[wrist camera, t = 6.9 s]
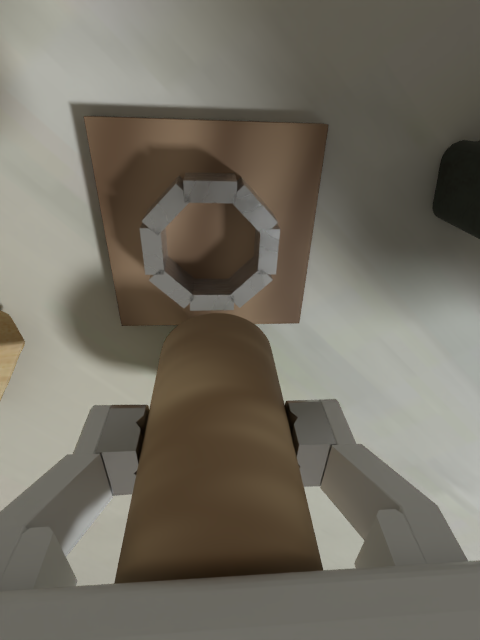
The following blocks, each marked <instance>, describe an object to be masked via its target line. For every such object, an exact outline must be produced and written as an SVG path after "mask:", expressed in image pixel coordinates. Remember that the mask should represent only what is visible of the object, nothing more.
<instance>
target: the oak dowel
mask: <svg viewBox="0 0 480 640" xmlns="http://www.w3.org/2000/svg"><path fill="white" fill-rule="evenodd" d="M322 570H323V567H322V563H321V559H320V554H319V550H318V546H317V542H316V537H315V533H314V529H313V525H312V520H311V516H310V512H309V508H308V503H307V499H306V495H305V491H304V486H303V482H302V478H301V473H300V469H299V465H298V461H297V456H296V452H295V448H294V444H293V439H292V435H291V431H290V427H289V422H288V418H287V414H286V410H285V405H284V401H283V397H282V393H281V388H280V384H279V380H278V376H277V371H276V367H275V363H274V359H273V354H272V350H271V346H270V343H269V341H268V339H267V337H266V336H265V334H264V333H263V332H262V331H261V330H260V329H259V328H258V327H257V326H256V325H255V324H253V323H252V322H250V321H248V320H247V319H244V318H242V317H239V316H236V315H232V314H226V313H208V314H203V315H199V316H195V317H193V318H190V319H188V320H186V321H184V322H182V323H181V324H179V325H178V326H177V327H175V328H174V329H173V330H172V331H171V332H170V334H169V335H168V336H167V338H166V340H165V342H164V344H163V347H162V350H161V355H160V360H159V365H158V370H157V375H156V380H155V385H154V390H153V394H152V399H151V404H150V409H149V414H148V419H147V424H146V429H145V434H144V439H143V444H142V449H141V454H140V459H139V464H138V469H137V474H136V479H135V484H134V489H133V494H132V499H131V504H130V509H129V514H128V519H127V524H126V528H125V533H124V538H123V543H122V548H121V553H120V558H119V563H118V568H117V573H116V578H115V583H114V584H117V583H132V582H148V581H164V580H179V579H195V578H211V577H227V576H243V575H258V574H274V573H290V572H306V571H322Z"/></svg>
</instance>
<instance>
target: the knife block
mask: <svg viewBox="0 0 480 640" xmlns="http://www.w3.org/2000/svg"><path fill="white" fill-rule="evenodd" d="M24 344H25V341H24V339H23V337H22V336H21V334H20V332H19V330H18V328H17V327H16V325H15V323H14V322H13V320H12V318H11V317H10V316H9V315H8V314H7V313H5V312H3V311H1V310H0V400H1V398H2V396H3V393H4V391H5V389H6V387H7V385H8V383H9V380H10V378H11V375H12V373H13V371H14V368H15V365H16V363H17V360H18V358H19V355H20V353H21V351H22V349H23V347H24Z"/></svg>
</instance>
